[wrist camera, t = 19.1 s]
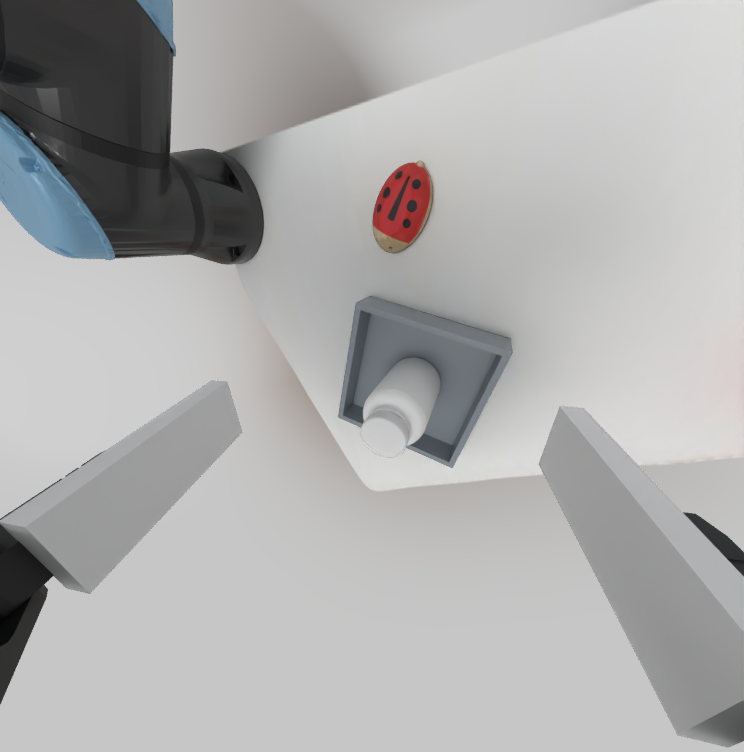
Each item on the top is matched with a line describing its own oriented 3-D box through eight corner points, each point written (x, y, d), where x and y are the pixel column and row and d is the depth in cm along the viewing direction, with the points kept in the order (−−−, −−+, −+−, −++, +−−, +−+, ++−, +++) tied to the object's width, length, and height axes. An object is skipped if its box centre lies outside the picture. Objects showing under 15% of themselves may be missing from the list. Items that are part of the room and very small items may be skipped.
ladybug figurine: (367, 240, 36) (356, 240, 33) (396, 152, 31) (385, 142, 28) (410, 261, 35) (402, 263, 32) (448, 174, 30) (442, 167, 27)
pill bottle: (450, 368, 38) (428, 429, 26) (430, 409, 42) (403, 479, 30) (399, 347, 40) (356, 395, 27) (385, 389, 44) (342, 447, 32)
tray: (351, 402, 49) (337, 417, 45) (370, 296, 39) (356, 302, 35) (456, 447, 44) (452, 468, 40) (510, 339, 34) (512, 352, 30)
